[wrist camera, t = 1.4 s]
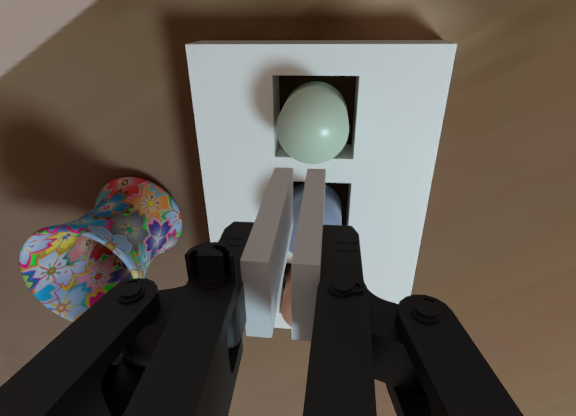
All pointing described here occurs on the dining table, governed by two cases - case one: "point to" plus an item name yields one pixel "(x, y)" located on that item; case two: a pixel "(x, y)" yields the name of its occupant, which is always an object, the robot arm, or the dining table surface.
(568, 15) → the dining table surface
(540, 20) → the dining table surface
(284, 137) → the sage button
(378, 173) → the panel
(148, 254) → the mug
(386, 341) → the robot arm
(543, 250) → the dining table surface
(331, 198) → the slate button
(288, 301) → the terracotta button
